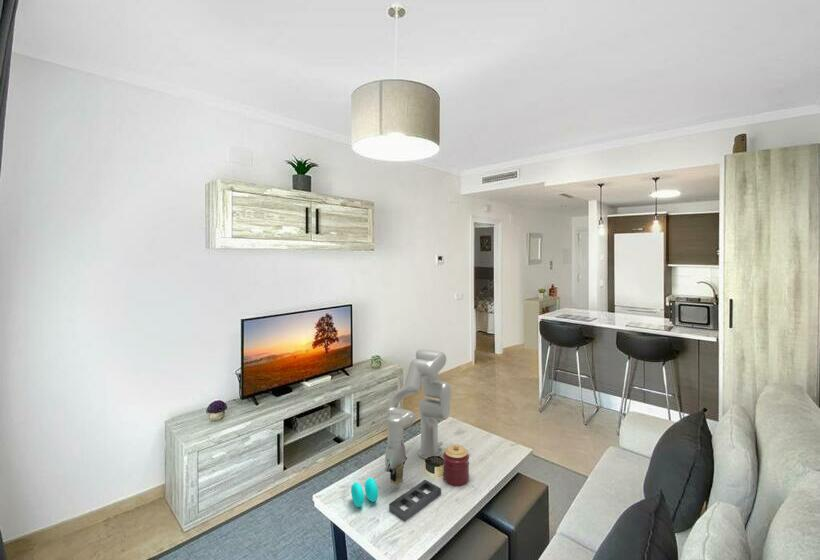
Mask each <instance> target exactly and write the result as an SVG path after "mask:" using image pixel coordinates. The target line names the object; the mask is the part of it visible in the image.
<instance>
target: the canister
mask: <svg viewBox="0 0 820 560" xmlns="http://www.w3.org/2000/svg"><path fill="white" fill-rule="evenodd" d="M442 457H443V461H442V462H443V463H442V464H443V472H442V476H443V480H444V481H445V482H446V483H447V484H448V485H451V486H455V487H458V486H460V487H461V486H464V485H466V484H467V483H468V482H469V479H470V471H469V470H470V468H469V467H470V466H469V465H470V461H469V459H470V455H469V453H468V450H467V449H466V448H465V447H463V446H462V445H459V444H452V445H449V446H447V447H445V449H444V453H443V455H442Z"/></svg>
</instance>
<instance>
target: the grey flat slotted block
mask: <svg viewBox="0 0 820 560" xmlns="http://www.w3.org/2000/svg"><path fill="white" fill-rule="evenodd" d="M425 490H428V491H429V492H428V493H426V492H424V491H425ZM441 495H442V488H441V487H439V486H437V485H436V484H434V483H432V482H430V481H429V480H427V479H424V480H422V481H421V482H419V483H417V484H416V485H415V486H413V487H412V488H410V489H408V490H407V491H405V493H403V494H401V495H400V496H399V497H397V498H395V499H394V500H392V501H391V502H390V503H388V510H389V511H390V512H391V513H392V514H394V515H395V516H397V517H398V518H399V519H401V520H403V522H407V521H408V520H410V519H411V518H412V517H413V516H415V515H416V514H418V513H419V512H420V511H422V510H423V509H424V508H425V507H426V506H428V505H429V504H430V503H432V502H433V501H434V500H436V499H437V498H438V497H440V496H441ZM415 497H416V498H418V500H417V501H415V500H413V498H415ZM403 505H405V506H406V507H407V508H406V509H405V510H404V509H402V506H403Z"/></svg>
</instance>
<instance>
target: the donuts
mask: <svg viewBox="0 0 820 560" xmlns="http://www.w3.org/2000/svg"><path fill="white" fill-rule="evenodd" d="M364 492H365V493H364ZM350 493H351V498H352V501H353V504H354V506H356V507H357V508H361V507H362V506H363V505H364V504H365V495H366V497H367V499H368V501H370V502H372V503H374V502H376V501H378V498H379V490H378V486H377V483H376V481H375V479H374V478H373V477H367V479H366V480H365V484H364V489H363V487H362V485H361V484H360V483H359V482H353V483H352V485H351V492H350Z"/></svg>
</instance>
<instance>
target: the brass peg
mask: <svg viewBox="0 0 820 560" xmlns="http://www.w3.org/2000/svg"><path fill="white" fill-rule="evenodd" d="M392 470H393V469H392ZM395 474H396V481H395V482H394V481H393V480H391V479H390V483H392V484H393V485H394V486H395V487H397V486H399V485H400V484H402V483H403V481H404V480H403V477H404V475H403V476H402V464H400V465H398V466H397V467H395Z"/></svg>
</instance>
